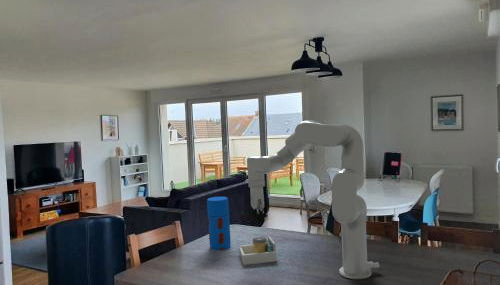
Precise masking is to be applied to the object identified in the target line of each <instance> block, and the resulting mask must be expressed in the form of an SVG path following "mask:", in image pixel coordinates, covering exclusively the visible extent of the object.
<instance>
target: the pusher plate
mask: <svg viewBox="0 0 500 285" xmlns="http://www.w3.org/2000/svg"><path fill="white" fill-rule="evenodd" d="M266 249H267V252H271V245H270V243H269V242H268V238H266Z"/></svg>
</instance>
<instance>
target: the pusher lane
mask: <svg viewBox="0 0 500 285" xmlns="http://www.w3.org/2000/svg"><path fill="white" fill-rule="evenodd" d="M267 241H268V242H269V243H270V245H271V252H263V253H254V249H253V243H252V244H244V245H238V248H239V249H238V250H239V253H238V255H239V257H240V260H241V262H242V265H243V266H247V265H255V264H256V265H257V264H263V263H272V262H277V250H276V249H277V248H276V242H275V241H274V240H273V238H272V237H271V236H270V235H268V236H267Z"/></svg>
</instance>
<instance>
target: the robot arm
mask: <svg viewBox="0 0 500 285" xmlns="http://www.w3.org/2000/svg"><path fill="white" fill-rule="evenodd" d="M284 143H285V145H284V146H282V148H281V149H280V150H278V151H276V153H274V154H270V155H266V156H265V155H264V156H260V155H253V156H249V157H247V159H246V168H247V183H248V184H247V185H248V188H250V189H249V190H250V206H251V208H252V209H253V210H252V211H253V218H254V219H256V220H257V223H258V224H260V223H265V222H266V220H265V211H264V208H265V196H264V187H266V181H265V174H270V173H273V172H276V171H277V172H278V171H280V170H281V169H283V168H285V167H286V166H288V165H289V164H291V163H292V162H293V161H294V160H295V159H296V158H297V157H298V156H299V155H300V154H301V153H303V151H305V150H307V149H308V148H309V147H310V146H312V145H314V146H315V145H316V146H321V147H327V148H336V147H340V146H341V148H342V150H341V157H340V161H341V164H340V165H341V166H340V171H337V173H336V174H335V175H334V177H333V178H332V181H331V213H332V216H333V217H334V219H335V220H336V222H337V223H339V224H341V226H340V227H341V228H340V230H341V251H342V255H341V256H342V266H341V267H340V268H339V271H338V272H339V274H340V276H342V277H343V278H347V279H351V280H365V279H368V278H370V277H371V276H372V274H373V272H372V271H373V270H372V269H375V268H376V269H378V268H380V263H379V262H374V261H373V260H371V261H368V249H367V248H368V247H367V246H368V243H367V213H368V212H367V211H368V207H367V203H366V201H365V199H364V198H363V197H362V196H361V195H359V194H357V192H358V191H359V190H361V189H362V188H363V186H364V183H365V175H364V174H365V173H364V169H365V168H364V165H365V164H364V162H365V161H364V141H363V138H362V136H361V134H360V133H359V131H358V130H357V129H355V128H354V127H353V126H350V125H348V124H344V123H337V124H325V123H320V122H319V121H317V120H304V121H301V122H299V123H297V125H296V126H295V129H294V132H293V133H292V134H290V135H289V136H288V137H287V138H286V139H285V141H284Z"/></svg>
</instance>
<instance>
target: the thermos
mask: <svg viewBox="0 0 500 285" xmlns="http://www.w3.org/2000/svg"><path fill="white" fill-rule="evenodd" d="M206 205H207V206H206V208H207V221H208V223H207V226H208V237H209V238H208V239H209V240H208V241H209V249H210V250H212V251H224V250H228V249H230V248H231V226H230V225H231V224H230V211H229V210H230V209H229V198H228V196H227V197H226V196H213V197H209V198H207V200H206Z"/></svg>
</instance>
